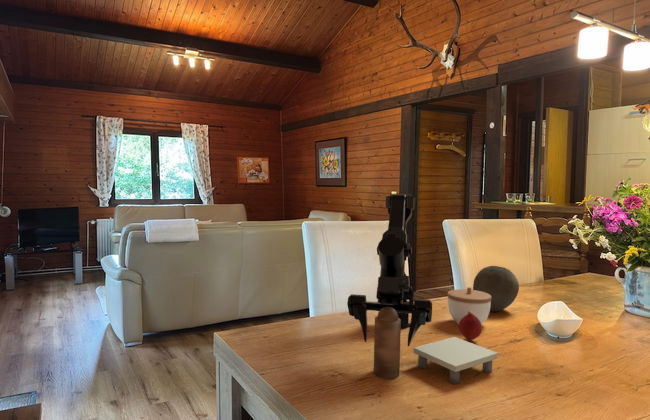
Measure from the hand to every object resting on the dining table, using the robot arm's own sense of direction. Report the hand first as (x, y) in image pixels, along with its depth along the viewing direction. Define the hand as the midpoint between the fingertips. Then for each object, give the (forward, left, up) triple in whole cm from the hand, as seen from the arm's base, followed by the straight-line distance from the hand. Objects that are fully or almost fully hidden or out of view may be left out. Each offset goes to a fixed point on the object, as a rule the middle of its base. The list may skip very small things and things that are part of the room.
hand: (386, 343), depth 91 cm
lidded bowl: (-15, +46, -7) cm, 49 cm away
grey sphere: (-20, +66, -7) cm, 69 cm away
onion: (-5, +34, -7) cm, 35 cm away
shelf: (+5, +16, -7) cm, 18 cm away
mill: (-1, +1, -7) cm, 7 cm away
